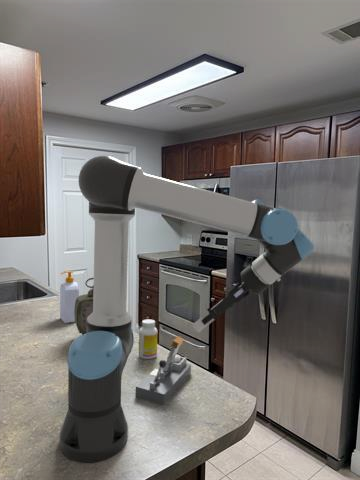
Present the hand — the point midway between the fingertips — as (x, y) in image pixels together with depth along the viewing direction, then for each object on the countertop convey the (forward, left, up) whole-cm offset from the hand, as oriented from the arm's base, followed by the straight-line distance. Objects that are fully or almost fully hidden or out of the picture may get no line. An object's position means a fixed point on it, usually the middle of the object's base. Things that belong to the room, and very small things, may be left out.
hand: (202, 321), depth 98 cm
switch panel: (+7, +9, -21) cm, 24 cm away
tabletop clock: (+49, +28, -22) cm, 60 cm away
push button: (+13, +4, -17) cm, 22 cm away
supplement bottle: (+28, +10, -22) cm, 37 cm away
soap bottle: (+74, +38, -22) cm, 86 cm away
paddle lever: (+7, +9, -17) cm, 21 cm away
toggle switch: (+2, +13, -18) cm, 22 cm away
